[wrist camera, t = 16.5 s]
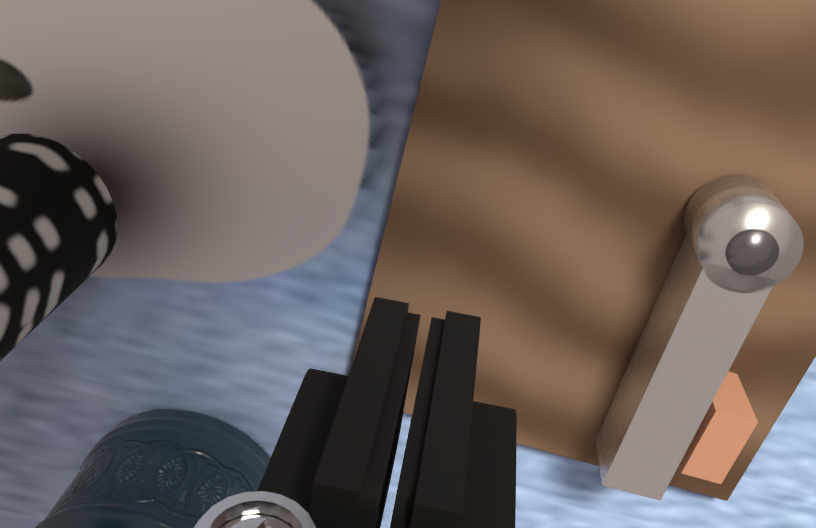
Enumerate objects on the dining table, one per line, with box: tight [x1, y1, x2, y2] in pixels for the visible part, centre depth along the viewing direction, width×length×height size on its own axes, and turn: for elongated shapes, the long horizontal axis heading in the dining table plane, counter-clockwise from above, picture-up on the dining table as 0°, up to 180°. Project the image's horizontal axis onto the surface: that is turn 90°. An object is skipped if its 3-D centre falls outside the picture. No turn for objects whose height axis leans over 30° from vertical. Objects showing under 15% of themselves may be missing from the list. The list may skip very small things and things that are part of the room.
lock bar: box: [596, 174, 804, 500], centre depth 35 cm, size 16×4×4 cm, turn 168°
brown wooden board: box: [352, 0, 816, 501], centre depth 35 cm, size 32×22×1 cm
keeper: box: [679, 372, 758, 484], centre depth 38 cm, size 4×2×4 cm, turn 167°
